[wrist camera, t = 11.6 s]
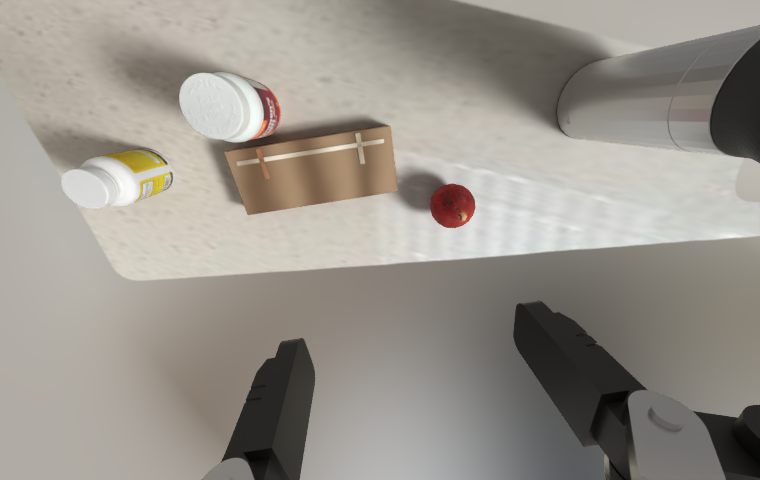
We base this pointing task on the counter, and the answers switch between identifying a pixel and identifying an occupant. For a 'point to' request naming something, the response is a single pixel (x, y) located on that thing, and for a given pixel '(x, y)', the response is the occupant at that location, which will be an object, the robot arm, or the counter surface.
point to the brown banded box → (314, 170)
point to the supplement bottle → (118, 179)
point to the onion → (452, 205)
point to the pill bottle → (229, 107)
